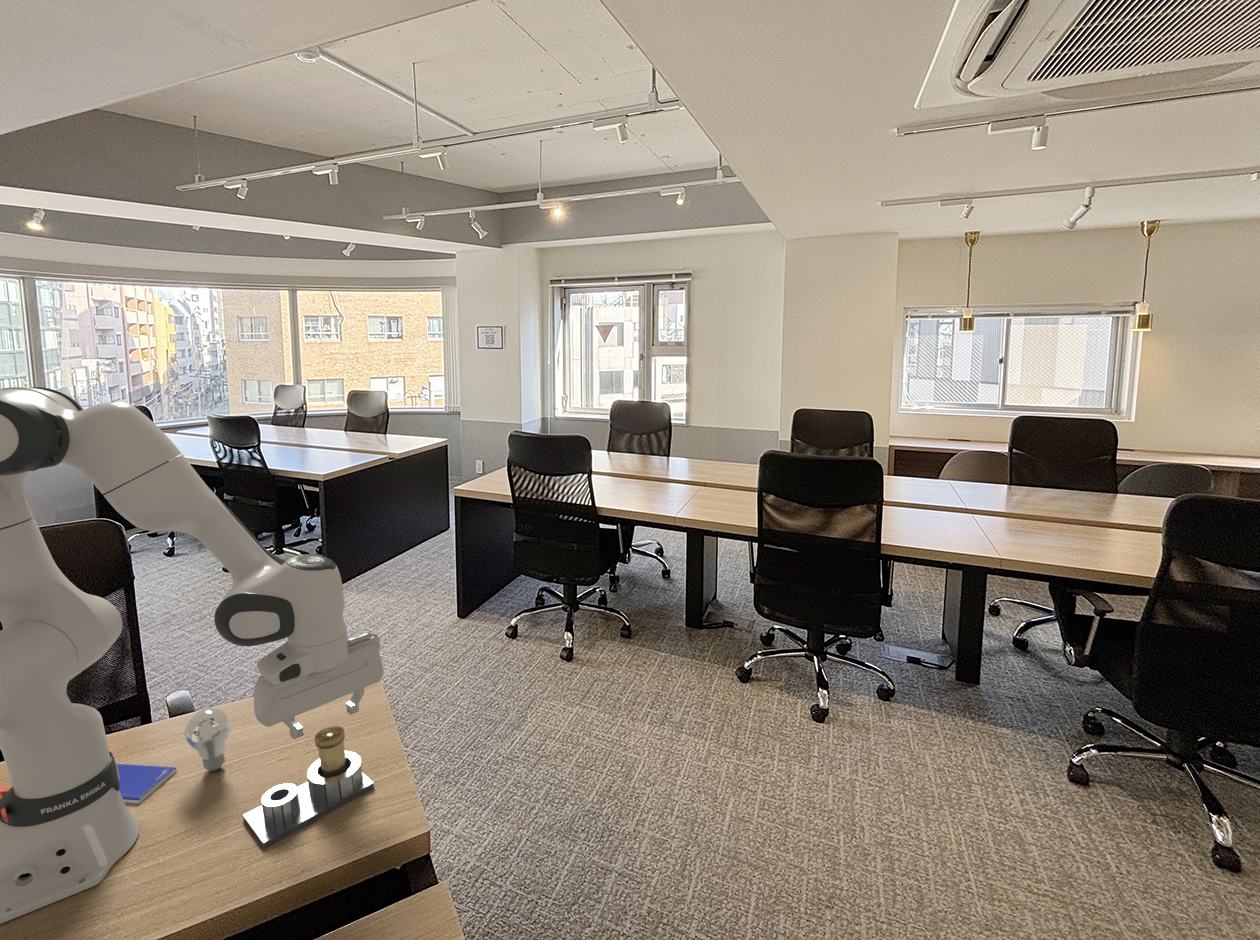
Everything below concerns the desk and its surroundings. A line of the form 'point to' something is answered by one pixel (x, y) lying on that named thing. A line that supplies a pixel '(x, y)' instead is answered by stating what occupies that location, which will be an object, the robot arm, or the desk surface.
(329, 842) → the desk surface
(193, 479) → the robot arm
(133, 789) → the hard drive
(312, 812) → the manifold plate
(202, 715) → the light bulb
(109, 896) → the desk surface
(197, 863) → the desk surface
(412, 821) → the desk surface
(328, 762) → the brass fitting
